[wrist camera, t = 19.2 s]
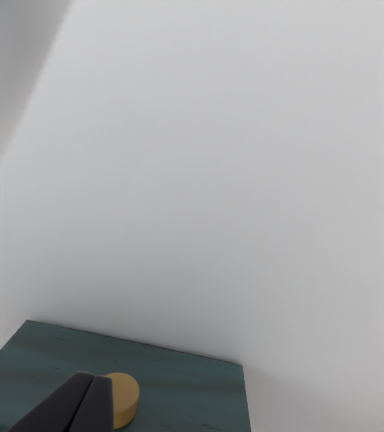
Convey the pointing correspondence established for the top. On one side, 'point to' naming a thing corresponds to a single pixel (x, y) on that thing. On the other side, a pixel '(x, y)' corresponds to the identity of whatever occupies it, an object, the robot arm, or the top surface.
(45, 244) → the top surface
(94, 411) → the robot arm
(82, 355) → the drawer
